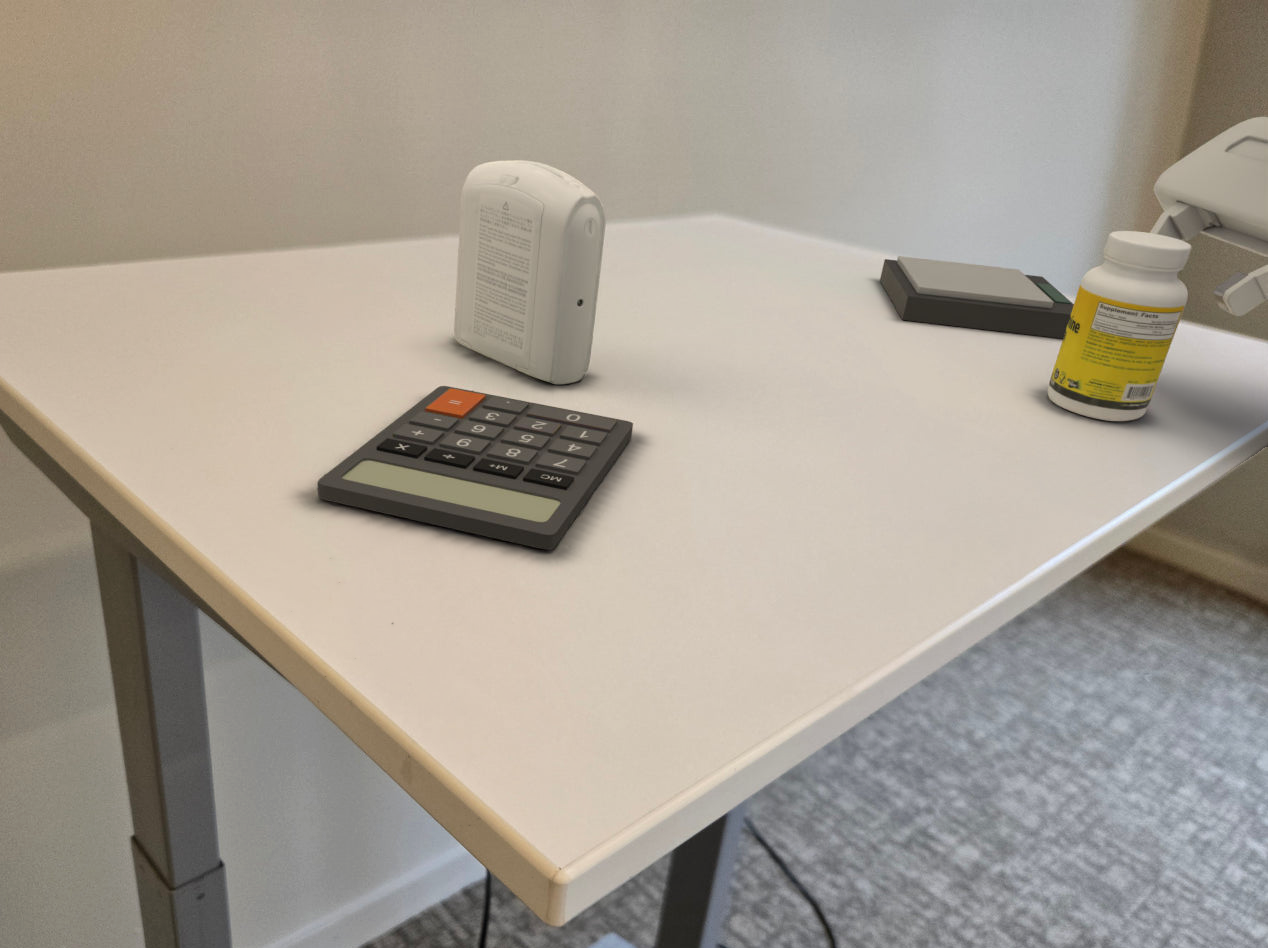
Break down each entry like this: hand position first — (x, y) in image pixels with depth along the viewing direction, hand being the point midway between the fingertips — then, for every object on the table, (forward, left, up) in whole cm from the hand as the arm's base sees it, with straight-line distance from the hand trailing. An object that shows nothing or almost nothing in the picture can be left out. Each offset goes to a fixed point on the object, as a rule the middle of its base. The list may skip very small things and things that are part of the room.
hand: (1177, 284), depth 67 cm
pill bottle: (+2, 0, -9) cm, 9 cm away
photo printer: (+40, +5, -9) cm, 42 cm away
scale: (+5, -23, -8) cm, 25 cm away
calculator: (+39, +22, -8) cm, 46 cm away
